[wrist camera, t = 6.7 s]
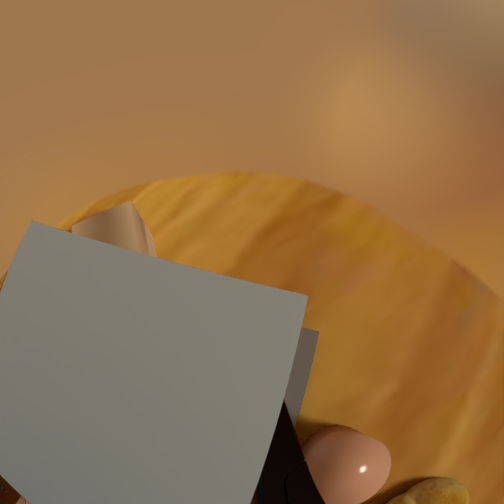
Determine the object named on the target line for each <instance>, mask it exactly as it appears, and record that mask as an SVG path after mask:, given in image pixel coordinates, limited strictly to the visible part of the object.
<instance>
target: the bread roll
mask: <svg viewBox="0 0 504 504" xmlns="http://www.w3.org/2000/svg"><path fill="white" fill-rule="evenodd" d="M469 500H470V499H469V492H468V490H467V488H466V487H465V486H464V485H463V484H462V483H460V482H459V481H457V480H454V479H451V478H446V477H436V478H431V479H427V480H425V481H422V482H420V483H418V484H416V485H414V486H412V487H411V488H410V489H408V490H407V491H406V492H405V493H403V494H401V495H399V496H396V497H394V498H392V499H391V500H390V501H388V502H387V503H386V504H469Z"/></svg>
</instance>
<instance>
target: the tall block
mask: <svg viewBox="0 0 504 504" xmlns="http://www.w3.org/2000/svg"><path fill="white" fill-rule="evenodd" d="M307 299H308V295H303V294H299V293H295V292H290V291H286V290H282V289H278V288H273V287H269V286H265V285H261V284H257V283H253V282H249V281H245V280H241V279H237V278H233V277H229V276H225V275H221V274H217V273H213V272H209V271H205V270H201V269H198V268H194V267H190V266H186V265H182V264H179V263H175V262H171V261H168V260H164V259H160V258H157V257H153V256H149V255H146V254H142V253H139V252H135V251H132V250H128V249H125V248H121V247H118V246H114V245H111V244H107V243H104V242H100V241H97V240H94V239H90V238H87V237H84V236H80V235H77V234H74V233H71V232H67V231H64V230H61V229H58V228H54V227H51V226H48V225H45V224H42V223H39V222H35V221H31V223H30V225H29V227H28V229H27V231H26V233H25V235H24V237H23V239H22V241H21V243H20V245H19V247H18V250H17V252H16V254H15V256H14V258H13V261H12V263H11V265H10V268H9V270H8V273H7V275H6V278H5V280H4V283H3V286H2V289H1V291H0V475H1V476H2V477H3V478H4V479H5V480H6V481H7V482H8V483H9V484H10V485H11V486H12V487H13V488H14V489H15V490H16V491H17V492H18V493H19V494H20V495H22V496H23V497H24V498H25V499H26V500H27V501H28V502H29V503H31V504H250V503H251V500H252V497H253V495H254V492H255V489H256V486H257V483H258V481H259V478H260V475H261V472H262V469H263V466H264V463H265V460H266V457H267V454H268V450H269V447H270V444H271V441H272V437H273V434H274V431H275V428H276V424H277V421H278V417H279V414H280V410H281V407H282V403H283V399H284V396H285V392H286V388H287V385H288V381H289V377H290V373H291V369H292V365H293V361H294V357H295V353H296V349H297V344H298V340H299V336H300V331H301V327H302V322H303V318H304V313H305V308H306V303H307Z"/></svg>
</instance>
